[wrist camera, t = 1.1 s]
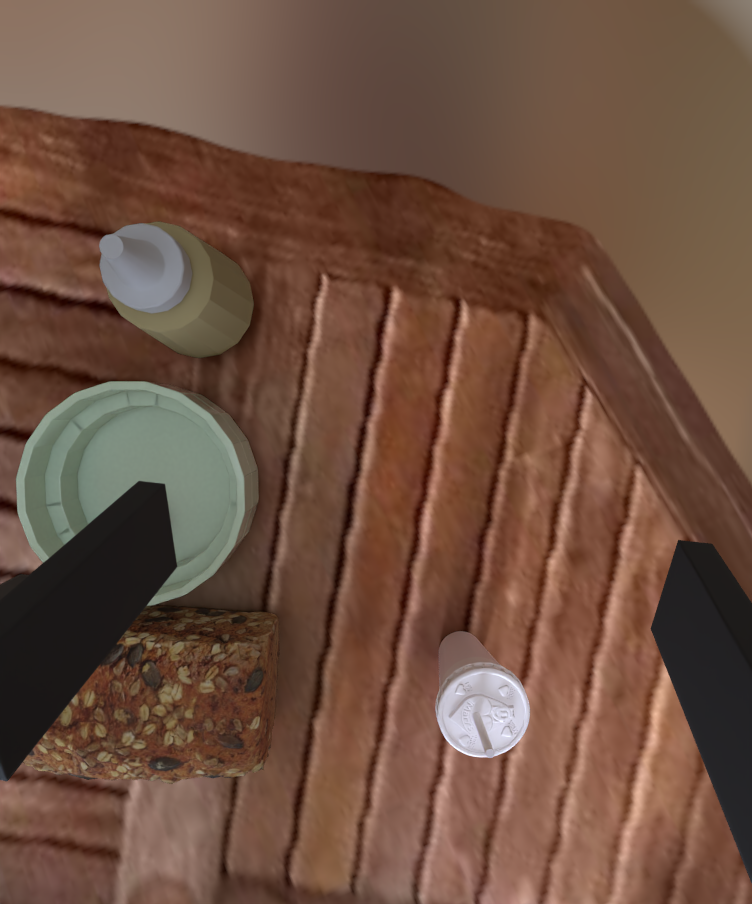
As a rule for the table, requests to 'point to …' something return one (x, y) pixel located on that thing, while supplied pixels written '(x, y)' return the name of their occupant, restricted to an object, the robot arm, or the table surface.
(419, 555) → the table surface
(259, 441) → the table surface
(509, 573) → the table surface
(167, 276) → the squeeze bottle
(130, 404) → the bowl
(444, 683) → the smoothie
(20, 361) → the table surface
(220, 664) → the bread
